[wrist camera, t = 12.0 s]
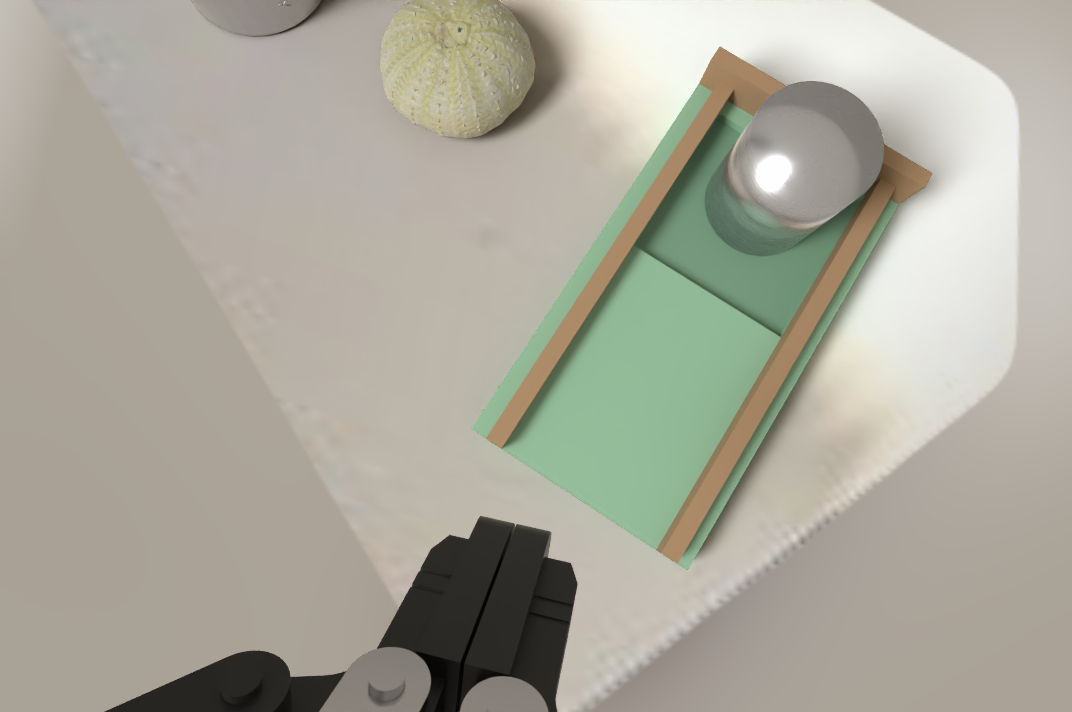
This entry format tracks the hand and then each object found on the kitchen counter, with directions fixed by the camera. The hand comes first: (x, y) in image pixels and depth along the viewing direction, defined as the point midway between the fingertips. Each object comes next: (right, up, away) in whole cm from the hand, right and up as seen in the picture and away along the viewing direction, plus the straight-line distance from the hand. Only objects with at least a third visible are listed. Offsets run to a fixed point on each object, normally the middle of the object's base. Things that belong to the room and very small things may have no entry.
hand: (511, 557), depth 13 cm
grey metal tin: (+14, +13, +25) cm, 32 cm away
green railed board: (+10, +7, +25) cm, 28 cm away
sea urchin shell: (-4, +22, +28) cm, 35 cm away
